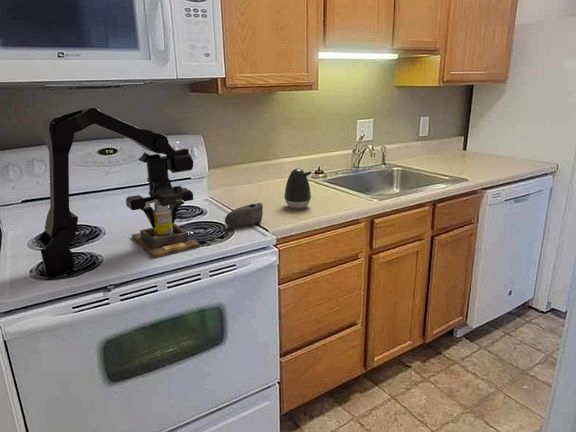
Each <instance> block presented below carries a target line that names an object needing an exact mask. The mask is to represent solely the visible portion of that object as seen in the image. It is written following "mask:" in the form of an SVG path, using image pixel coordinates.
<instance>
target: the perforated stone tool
mask: <svg viewBox="0 0 576 432" xmlns="http://www.w3.org/2000/svg"><path fill="white" fill-rule="evenodd" d="M263 207H264V206H263V204H262V202H258V203H252V204H247V205H244V206H240V207H237V208H235V209H233V210H231V211H230V212H228V213H227V214H226V216H225V218H224V224H225V226H227V227H229V228H232V229H233V228H240V227H242V228H243V227H248V226H250V227H251V226H252V225H253V226H254V225H255V224H259V223H261V222H262V220H263V215H264V213H263V211H264V210H263Z"/></svg>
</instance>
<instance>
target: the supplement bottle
mask: <svg viewBox="0 0 576 432" xmlns="http://www.w3.org/2000/svg"><path fill="white" fill-rule="evenodd" d="M153 207H154V208H153V211H152V213H153V218H154V223H155V228H154V235H155V236H156V237H160V238H162V237H166V236H171V235H172V234H173V227H172V213H171V209H170V208H169V205H167V206H161V205H160V203H159V202H155V203H154V205H153Z"/></svg>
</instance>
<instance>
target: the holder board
mask: <svg viewBox="0 0 576 432" xmlns="http://www.w3.org/2000/svg"><path fill="white" fill-rule="evenodd" d="M172 227H173V234H172V235H171V236H166V237H162V238H160V237H156V236H155V235H154V228H153V227H149V228H144V229H141V230H139V232H138V233H133V234H131V239H133V240H134V241H135V242H136V243H137V244H138V245H139V246H140V247H141V248H143V249H144V251H145V252H147V254H149V256H151V257H152V258H153V259H156V258H157V259H158V258H161V257H164V256H170V255H173V254H177V252H178V253H182V252H185V250H186V251H189V249H190V250H193V248H194V249H197V248H196V247H198V248H200V245H201V244H200V243H199V242H198V241H196V240H195V239H193V240H191V239H190V240H189V237H190V236H189V232H187V231H186V230H184V229H183V228H181V227H180V226H179V225H177V224H176V223H175V222H174V224H172ZM174 233H175V235H174ZM188 236H189V237H188ZM181 251H182V252H181ZM169 254H170V255H169Z"/></svg>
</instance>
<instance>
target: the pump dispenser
mask: <svg viewBox="0 0 576 432" xmlns="http://www.w3.org/2000/svg"><path fill="white" fill-rule="evenodd" d="M310 175H312V171H307V172H305V171H304V170H303V169H301V168H295V169H293V170H292V171H291V172H290V173H289V175H288V178H287V181H286V184H285V187H284V200H285V203H286V204H287V206H288V207H289V208H290V209H294V210H303V209H304V208H307V207H308V206H309V204H310V201H311V200H312V193H311V191H312V190H311V186H310V182H309V179H308V176H310Z"/></svg>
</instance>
